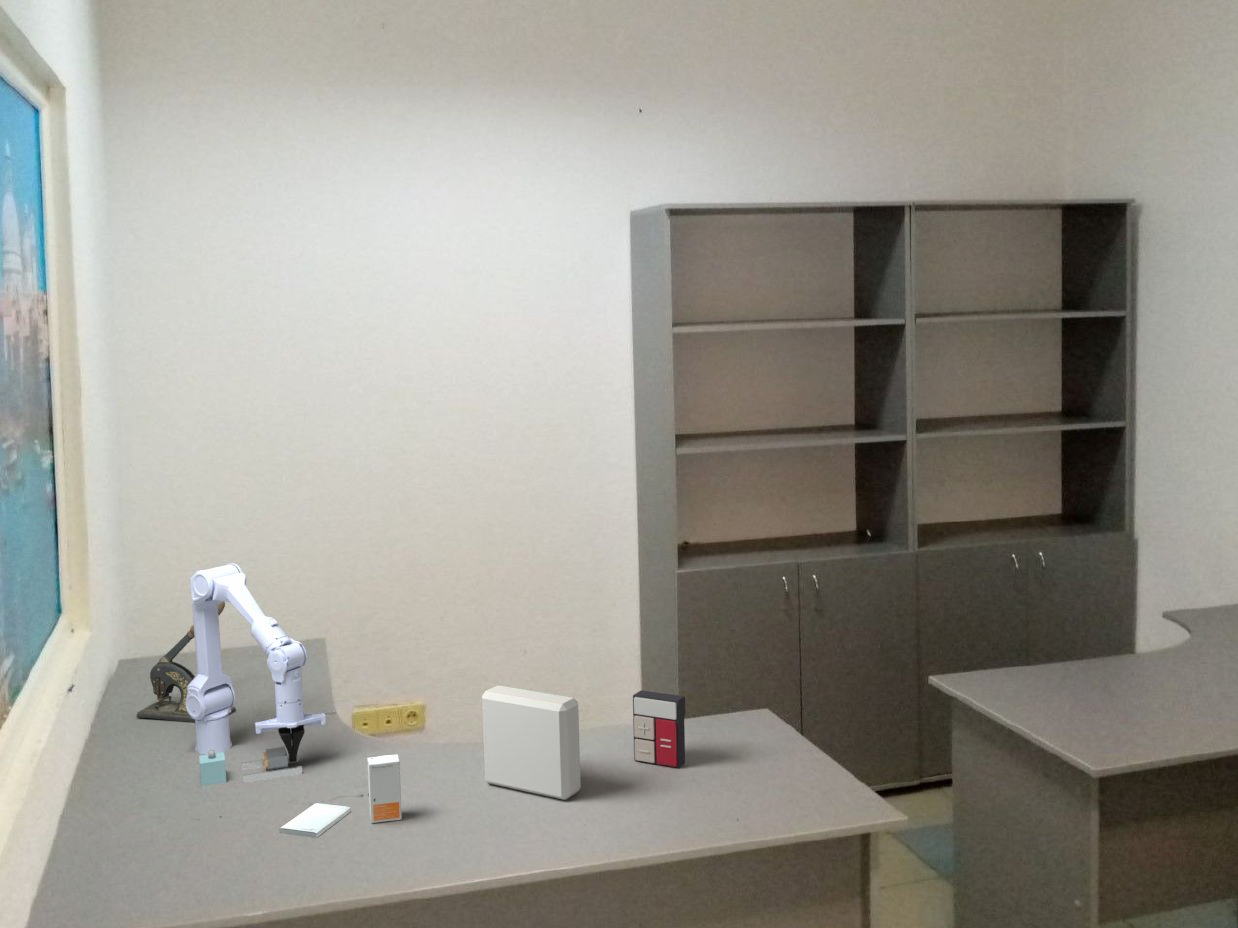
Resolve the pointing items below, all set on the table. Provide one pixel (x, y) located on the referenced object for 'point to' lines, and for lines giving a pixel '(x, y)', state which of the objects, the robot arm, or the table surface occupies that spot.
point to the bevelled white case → (531, 741)
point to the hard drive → (315, 820)
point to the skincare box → (384, 788)
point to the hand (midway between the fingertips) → (292, 760)
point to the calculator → (659, 728)
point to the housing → (212, 768)
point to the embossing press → (172, 683)
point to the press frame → (267, 774)
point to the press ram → (275, 759)
